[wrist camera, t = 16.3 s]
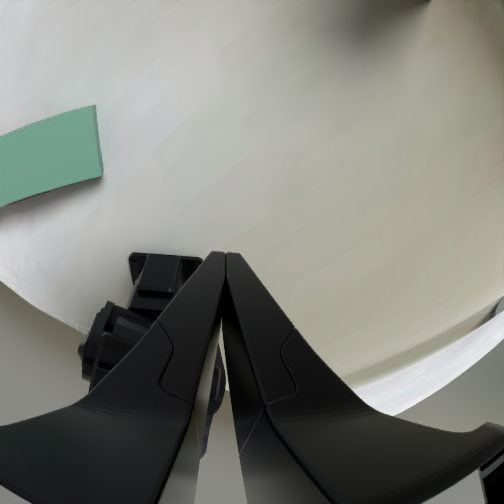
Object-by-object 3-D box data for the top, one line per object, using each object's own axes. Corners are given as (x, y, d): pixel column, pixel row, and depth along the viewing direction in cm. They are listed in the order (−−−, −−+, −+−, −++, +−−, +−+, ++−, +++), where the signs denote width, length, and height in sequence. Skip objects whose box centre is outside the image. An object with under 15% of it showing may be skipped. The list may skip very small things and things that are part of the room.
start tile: (92, 106, 13) (-17, 144, 10) (101, 176, 16) (-1, 207, 13) (95, 104, 15) (-7, 139, 12) (103, 168, 18) (7, 197, 15)
